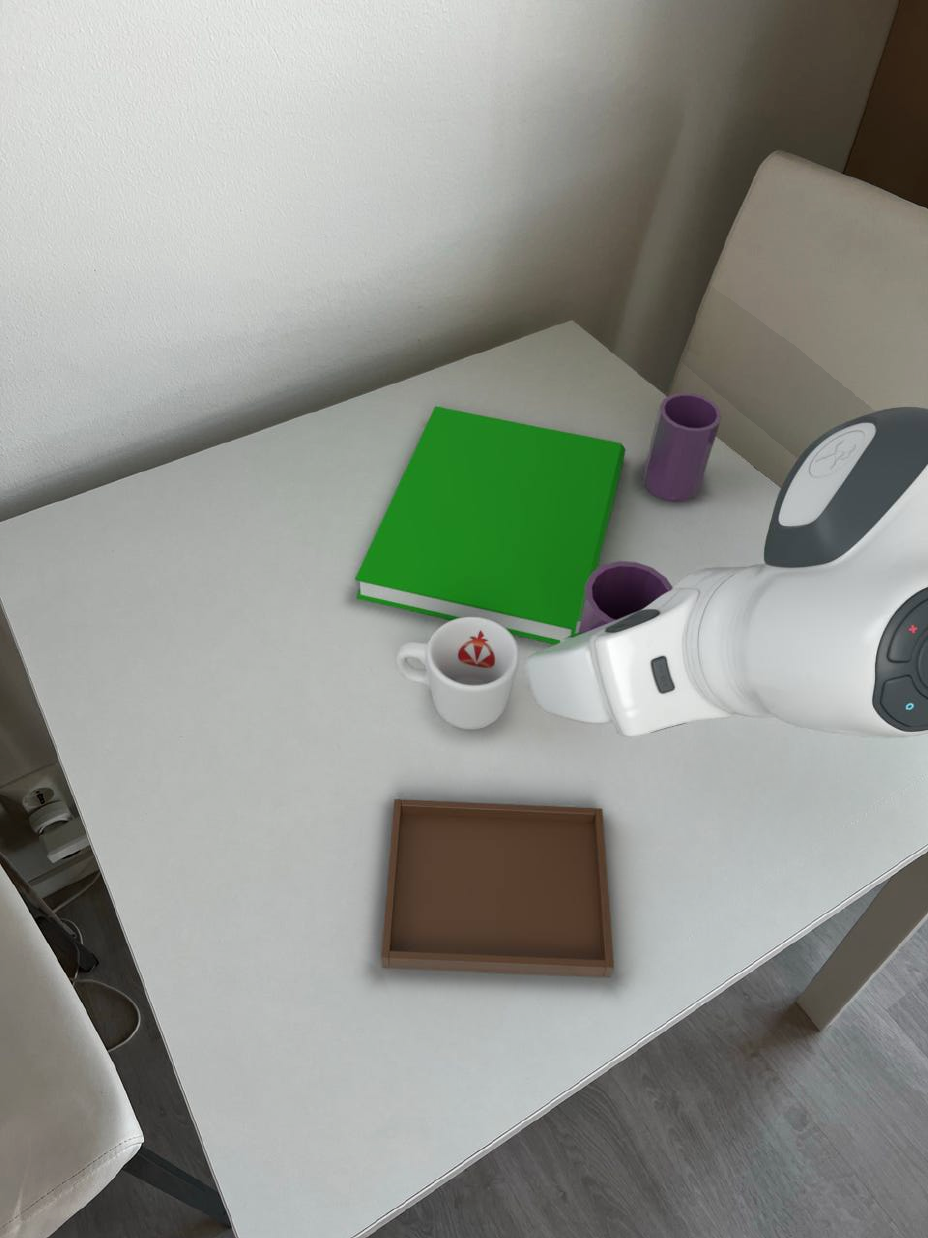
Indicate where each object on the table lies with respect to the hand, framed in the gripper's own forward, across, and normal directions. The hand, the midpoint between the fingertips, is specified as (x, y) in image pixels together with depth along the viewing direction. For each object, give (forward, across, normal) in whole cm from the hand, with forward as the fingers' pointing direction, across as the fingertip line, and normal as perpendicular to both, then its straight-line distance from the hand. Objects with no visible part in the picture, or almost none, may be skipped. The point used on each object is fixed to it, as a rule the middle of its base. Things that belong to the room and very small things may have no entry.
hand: (614, 628), depth 71 cm
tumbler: (+30, -28, -6) cm, 42 cm away
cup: (+19, +8, +5) cm, 22 cm away
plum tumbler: (+3, 0, +4) cm, 5 cm away
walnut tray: (+7, +13, +18) cm, 23 cm away
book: (+32, -7, -7) cm, 34 cm away
